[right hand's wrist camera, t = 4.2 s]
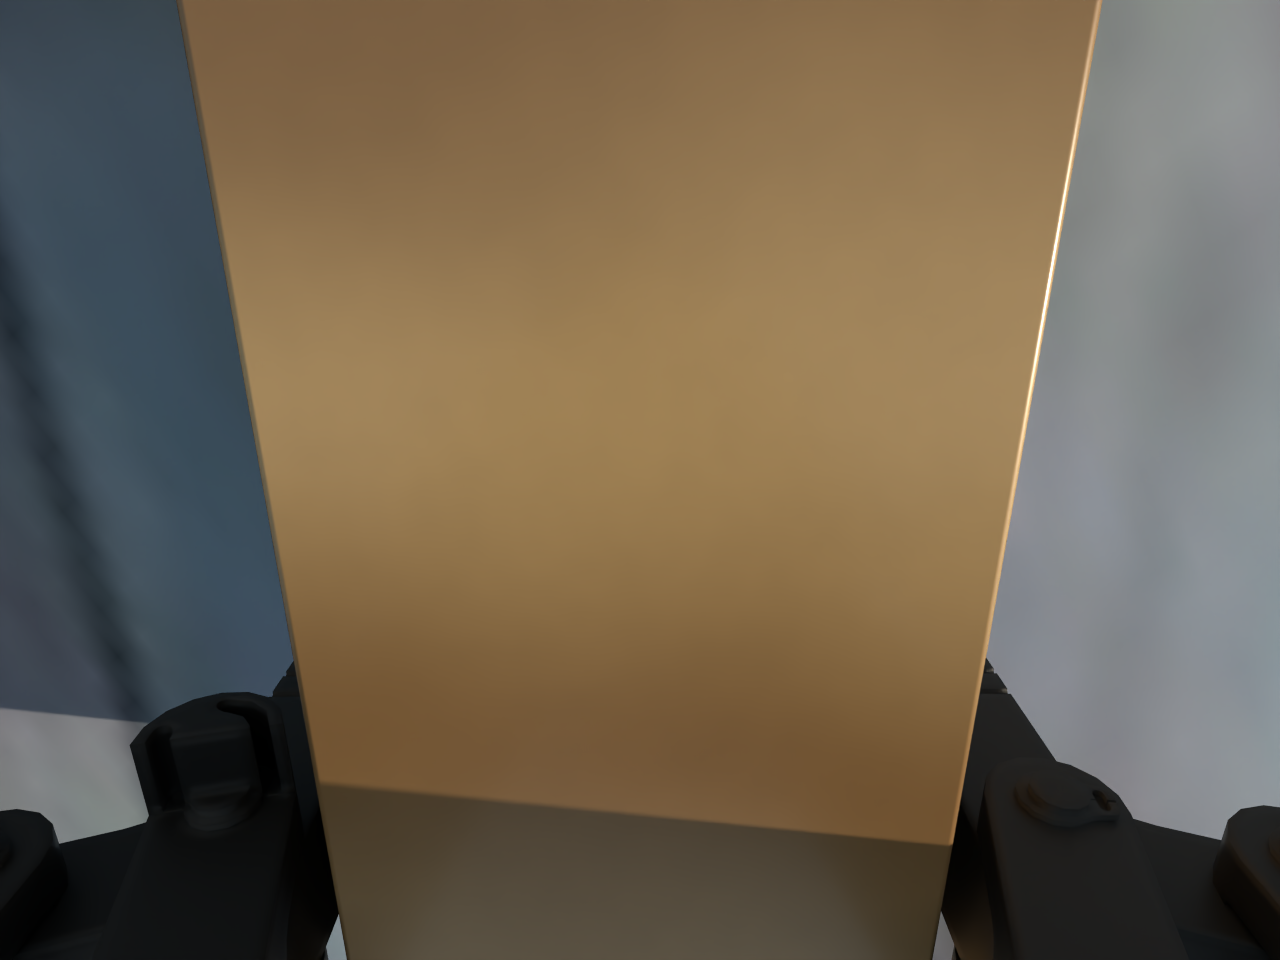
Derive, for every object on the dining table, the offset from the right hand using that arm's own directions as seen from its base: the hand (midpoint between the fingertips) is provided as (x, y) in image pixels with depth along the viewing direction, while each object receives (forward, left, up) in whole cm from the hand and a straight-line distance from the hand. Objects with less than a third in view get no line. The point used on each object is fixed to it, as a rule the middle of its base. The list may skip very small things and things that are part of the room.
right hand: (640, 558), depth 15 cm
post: (+14, +25, -1) cm, 29 cm away
